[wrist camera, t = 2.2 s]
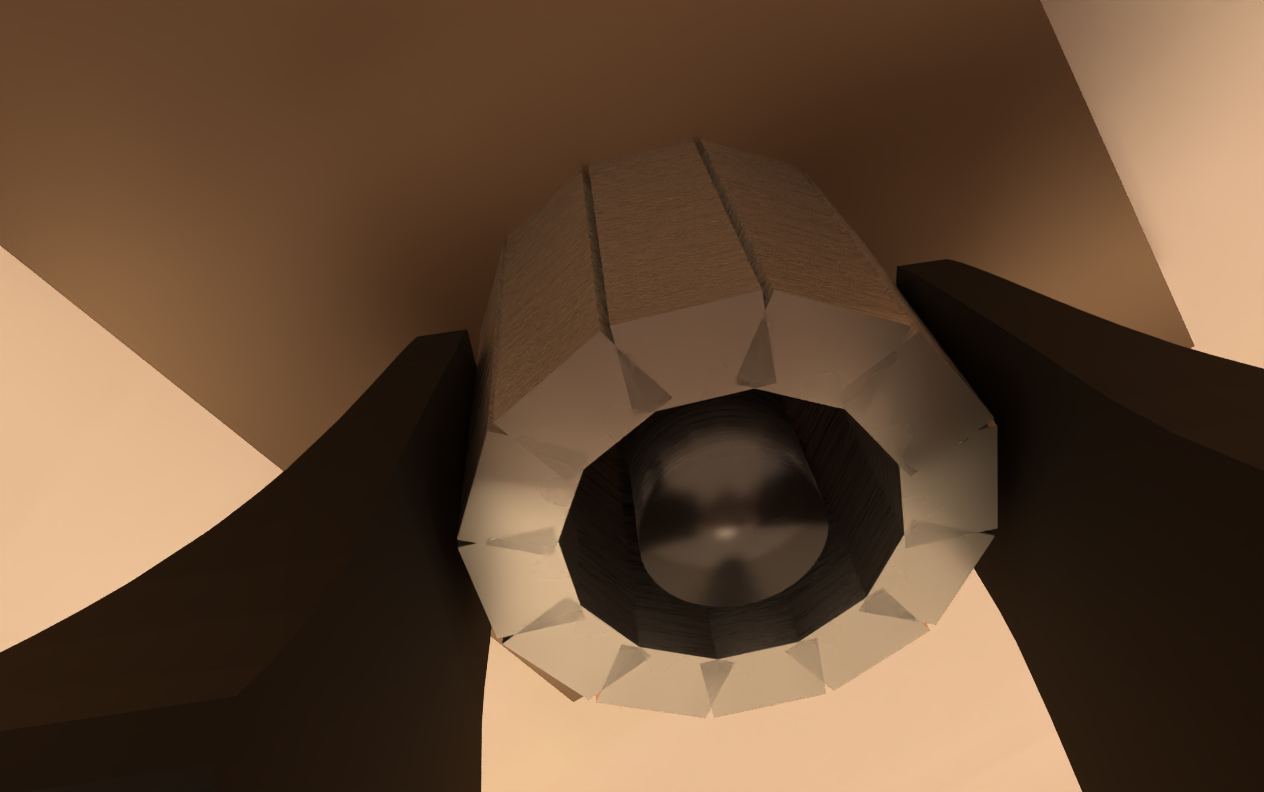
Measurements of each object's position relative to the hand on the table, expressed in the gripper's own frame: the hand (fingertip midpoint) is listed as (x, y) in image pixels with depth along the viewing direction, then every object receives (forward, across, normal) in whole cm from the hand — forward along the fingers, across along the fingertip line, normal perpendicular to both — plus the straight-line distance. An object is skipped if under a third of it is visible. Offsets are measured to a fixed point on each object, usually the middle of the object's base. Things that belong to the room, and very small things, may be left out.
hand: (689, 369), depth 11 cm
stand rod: (+1, 0, 0) cm, 1 cm away
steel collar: (+1, 0, 0) cm, 1 cm away
